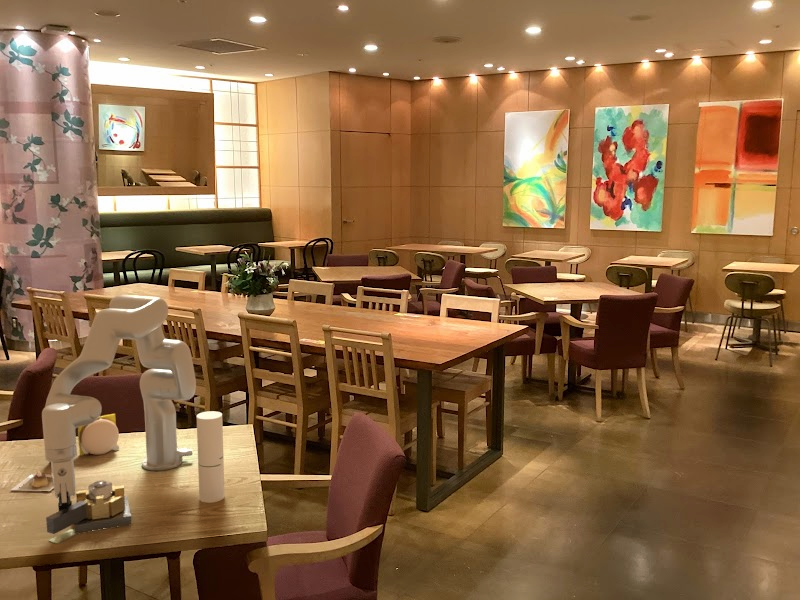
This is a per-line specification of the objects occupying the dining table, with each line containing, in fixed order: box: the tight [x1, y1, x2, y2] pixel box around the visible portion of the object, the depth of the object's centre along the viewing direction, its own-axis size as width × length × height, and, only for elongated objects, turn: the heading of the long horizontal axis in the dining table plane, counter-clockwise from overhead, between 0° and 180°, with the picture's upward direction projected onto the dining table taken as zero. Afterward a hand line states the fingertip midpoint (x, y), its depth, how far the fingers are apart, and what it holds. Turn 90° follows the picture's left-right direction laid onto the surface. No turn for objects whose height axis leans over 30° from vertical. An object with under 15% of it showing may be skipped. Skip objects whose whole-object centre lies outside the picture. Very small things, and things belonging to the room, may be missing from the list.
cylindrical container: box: [196, 410, 226, 504], centre depth 216 cm, size 7×7×25 cm
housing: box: [48, 480, 132, 545], centre depth 201 cm, size 20×18×10 cm
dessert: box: [10, 470, 54, 492], centre depth 226 cm, size 12×12×5 cm
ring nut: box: [45, 484, 126, 535], centre depth 199 cm, size 22×12×6 cm, turn 155°
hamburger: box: [77, 413, 120, 456], centre depth 251 cm, size 12×8×12 cm
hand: (66, 516), depth 198 cm, fingers closed
